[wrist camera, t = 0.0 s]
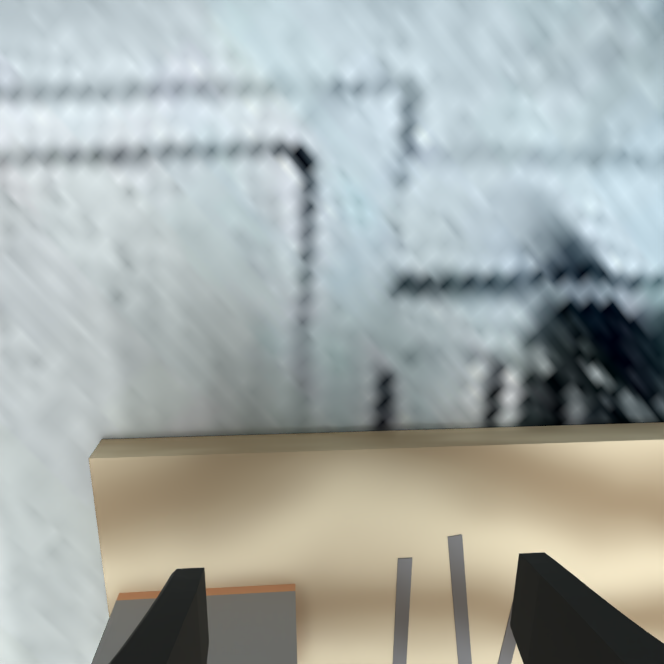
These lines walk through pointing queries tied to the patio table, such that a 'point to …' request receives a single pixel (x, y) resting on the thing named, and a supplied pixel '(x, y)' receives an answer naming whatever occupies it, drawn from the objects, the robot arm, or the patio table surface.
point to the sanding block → (221, 624)
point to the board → (391, 528)
